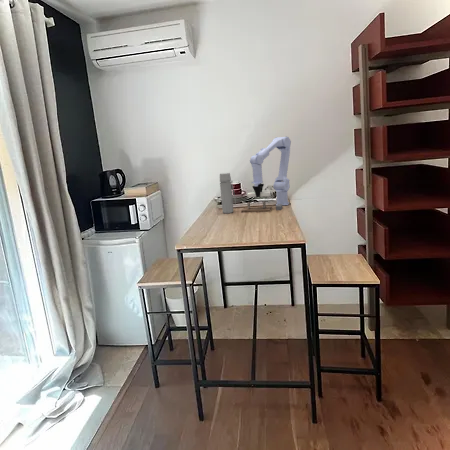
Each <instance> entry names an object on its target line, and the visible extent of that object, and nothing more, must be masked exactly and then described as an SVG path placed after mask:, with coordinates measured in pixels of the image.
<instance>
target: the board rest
mask: <svg viewBox="0 0 450 450" xmlns="http://www.w3.org/2000/svg"><path fill="white" fill-rule="evenodd" d="M276 204H277V203H276ZM276 204H275V210H276V211H281V210H283V205H282V204H277V205H276Z"/></svg>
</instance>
